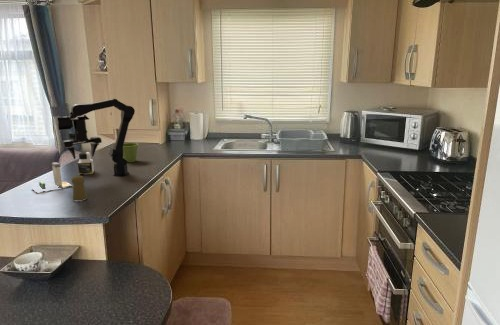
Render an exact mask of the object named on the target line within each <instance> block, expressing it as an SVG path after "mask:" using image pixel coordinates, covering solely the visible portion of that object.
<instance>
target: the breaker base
mask: <svg viewBox="0 0 500 325" xmlns="http://www.w3.org/2000/svg"><path fill="white" fill-rule="evenodd" d="M45 185H46V183H45V182H44V181H43V180H40V181H38V186H40V187H41V188H42V189H46V187H45ZM69 186H72V187H73V184H71V183H69V182H67V181H62V185H61V186H59V187H58V188H63V187H69ZM69 188H70V187H69Z"/></svg>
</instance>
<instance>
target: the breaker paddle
mask: <svg viewBox="0 0 500 325" xmlns="http://www.w3.org/2000/svg"><path fill="white" fill-rule="evenodd" d="M60 164H61V163H59V162H56V161H55V162H51V167H52V174H53V180H54V181H53V182H54V183H55V185H57V186H61V185H62V182H63V181H62V175H61V174H62V173H61V166H60Z"/></svg>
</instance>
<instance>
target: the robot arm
mask: <svg viewBox="0 0 500 325" xmlns="http://www.w3.org/2000/svg"><path fill="white" fill-rule="evenodd" d="M111 107H114V108H115V109H117V110H119V111H120V125H119V128H118V132H117V136H116V140H115V143H114V146H113V147H112V146H110V150H109V152H108V155H109V159H110V160H111V161H112V162H114V164H113V176H114V177H115V176H117V177H125V176H127V175H129V174H130V172H129V170H128V162H127V161H126V160H125V159H124V158H123V145H124V143H125V141H126V140H125V139H126V136H127V133H128V128H129V125H130V123H131V121H132V119H133V117H134V115H135V113H136V112H135V111H136V110H135V108H134V107H133V106H131V105H127V104H125V103H123V102H121V101H119V100H118V99H117V98H110V99H106V100H101V101H97V102H92V103H91V102H90V103H76V104H73V105H72V106H71V109H70V110H71V111H70V113H69V114H68V116H57V117H56V122H57V123H56V126H57V130H58V131H69V130H71V129H72V128H73V129H74V130H73V132H68V133H67V138H68V139H67V140H62V141H61V145H60V146H61V147H63V148H65V149H66V150H67V149H68V150H69V152H70V154H71V157H72V158H73V160H76V153H75V152H76V151H75V147H74V146H73V145H83V144H88V143H89V144H90V148H91V151H90V154H91V158H92V157H95V152H96V149H97V147H98V145H100V144H101V143H103V142H102V141H103V140H102V138H101V137H99V136H91V137H90V139H89V138H88V130H87V125H86V123H87V122H86V120H87V121H88V120H90V118H89V117H88V116H87V115H86V114H89V113H91V112H95V111H98V110H102V109H107V108H111Z"/></svg>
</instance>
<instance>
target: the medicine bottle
mask: <svg viewBox="0 0 500 325" xmlns="http://www.w3.org/2000/svg"><path fill="white" fill-rule="evenodd" d="M78 158H79V161H78V162H77V166H78V168H77V169H78V176H81V175H80V174H84V175H92V174H94V171H95V166H94V160H93V159H92V154H91V152H89V151H84V152H83V151H82V152H80V153H79V154H78Z"/></svg>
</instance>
